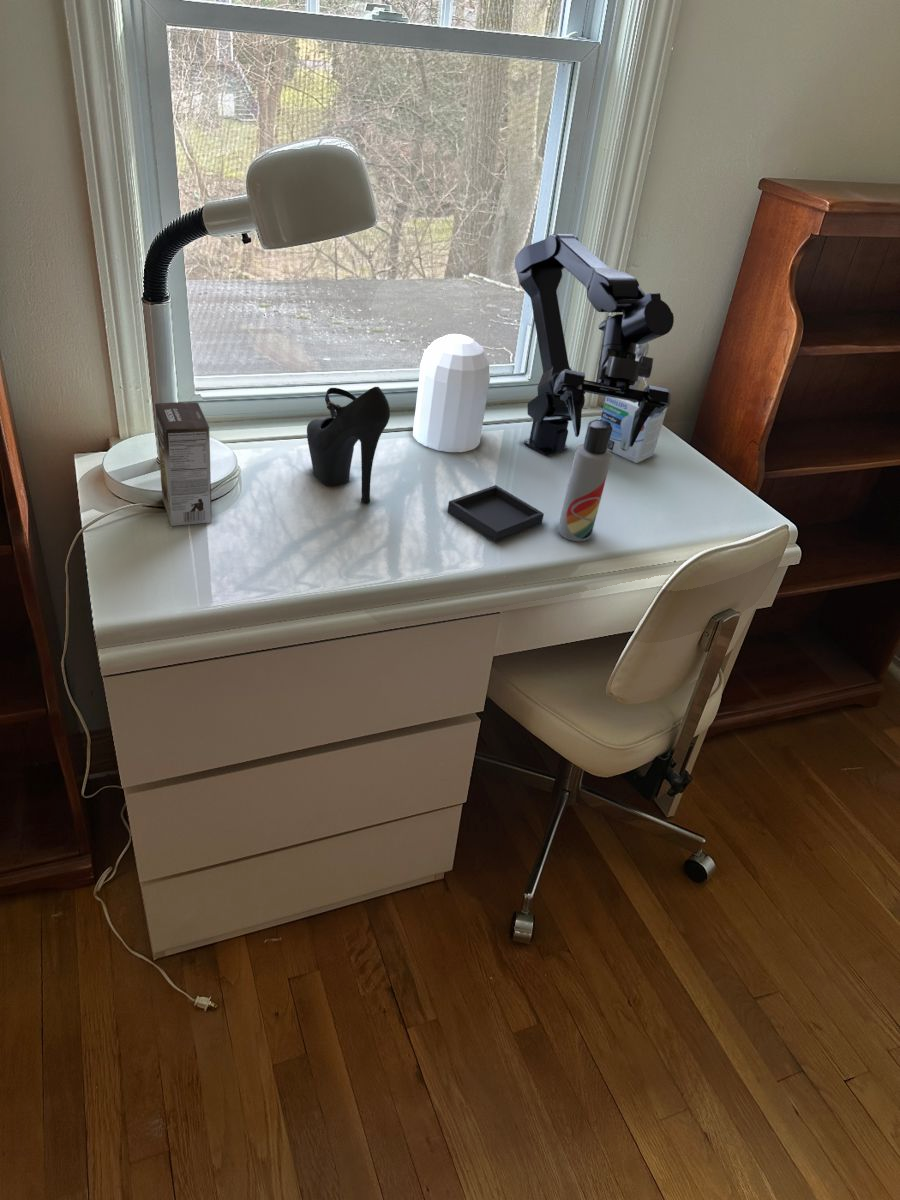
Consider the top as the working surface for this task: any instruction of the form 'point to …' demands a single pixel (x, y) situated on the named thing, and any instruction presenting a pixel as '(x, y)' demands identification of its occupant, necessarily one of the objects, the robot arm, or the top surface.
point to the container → (452, 394)
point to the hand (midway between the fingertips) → (604, 441)
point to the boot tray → (495, 513)
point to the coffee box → (184, 462)
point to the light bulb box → (621, 422)
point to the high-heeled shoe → (347, 437)
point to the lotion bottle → (586, 483)
